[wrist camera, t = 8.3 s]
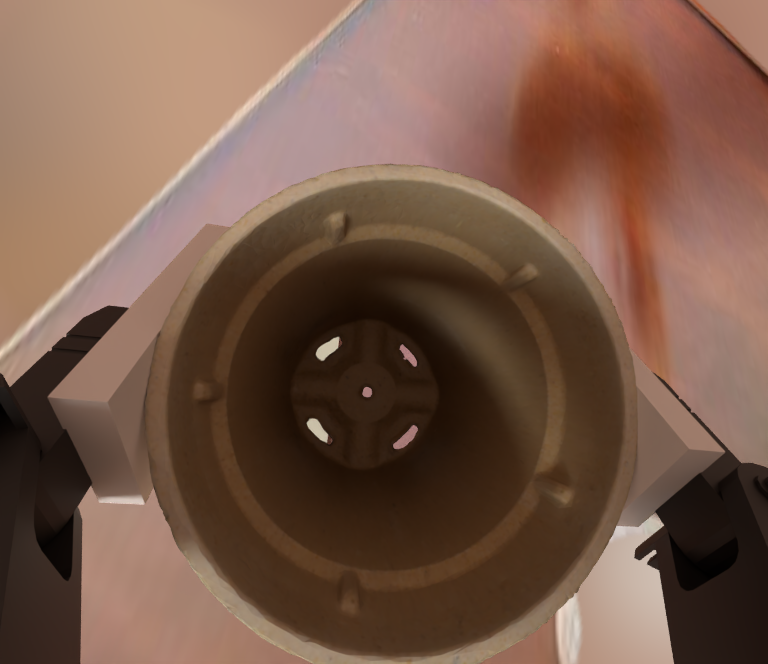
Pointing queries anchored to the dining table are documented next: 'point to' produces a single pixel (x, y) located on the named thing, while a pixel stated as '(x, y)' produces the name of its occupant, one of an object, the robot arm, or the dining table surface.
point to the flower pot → (392, 418)
